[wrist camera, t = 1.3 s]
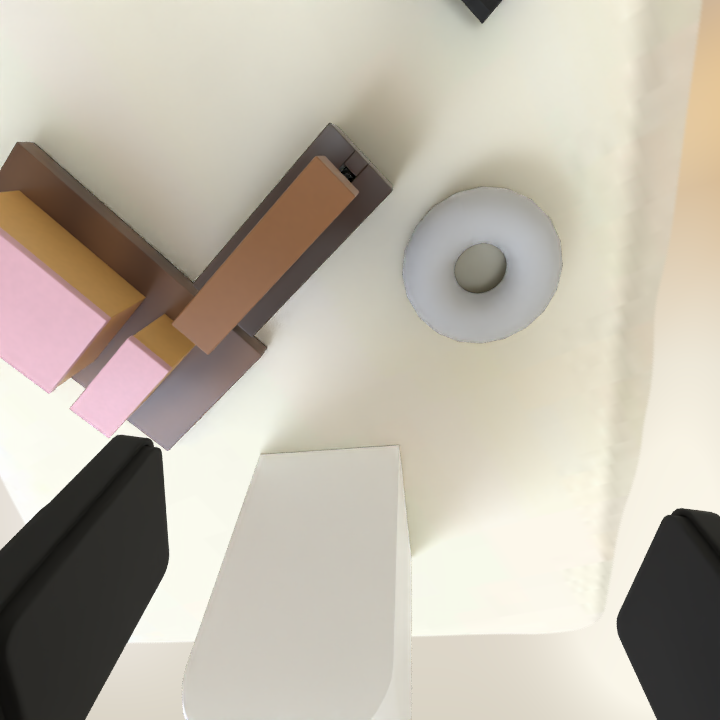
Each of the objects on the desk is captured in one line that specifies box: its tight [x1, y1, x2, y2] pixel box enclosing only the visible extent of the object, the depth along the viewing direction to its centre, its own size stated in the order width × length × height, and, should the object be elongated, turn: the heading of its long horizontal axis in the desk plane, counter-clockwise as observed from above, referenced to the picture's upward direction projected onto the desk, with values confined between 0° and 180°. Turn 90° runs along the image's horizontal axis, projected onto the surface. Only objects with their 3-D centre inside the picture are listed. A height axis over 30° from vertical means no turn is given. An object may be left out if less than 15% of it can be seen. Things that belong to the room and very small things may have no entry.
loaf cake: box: [0, 190, 146, 393], centre depth 31 cm, size 10×7×5 cm
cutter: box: [172, 156, 359, 355], centre depth 27 cm, size 2×11×10 cm, turn 136°
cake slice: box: [70, 314, 195, 438], centre depth 33 cm, size 3×7×5 cm, turn 136°
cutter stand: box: [192, 123, 393, 337], centre depth 31 cm, size 5×13×4 cm, turn 136°
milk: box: [182, 445, 412, 720], centre depth 29 cm, size 12×12×26 cm
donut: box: [402, 187, 563, 343], centre depth 31 cm, size 10×4×10 cm
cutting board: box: [0, 142, 267, 451], centre depth 35 cm, size 20×12×2 cm, turn 46°
